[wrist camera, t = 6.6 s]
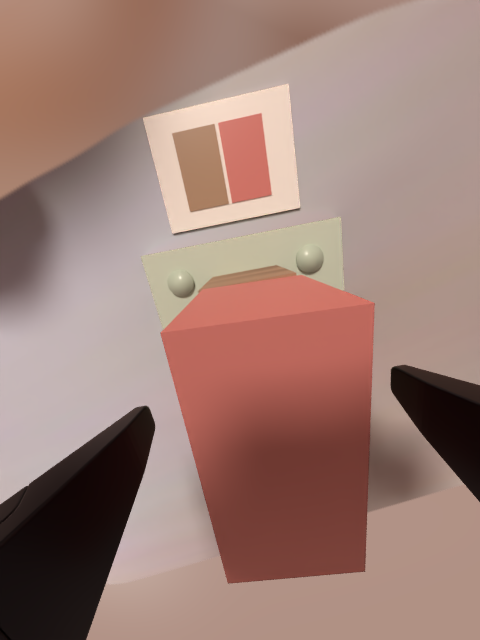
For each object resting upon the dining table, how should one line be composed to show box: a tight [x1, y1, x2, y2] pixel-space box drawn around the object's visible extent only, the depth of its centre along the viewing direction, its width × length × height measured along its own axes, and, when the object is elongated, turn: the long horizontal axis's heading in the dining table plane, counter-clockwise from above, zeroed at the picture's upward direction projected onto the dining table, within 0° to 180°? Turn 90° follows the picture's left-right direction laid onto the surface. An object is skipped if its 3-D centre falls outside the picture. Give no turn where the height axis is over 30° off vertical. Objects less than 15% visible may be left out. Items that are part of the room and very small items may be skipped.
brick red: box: [161, 275, 374, 583], centre depth 8 cm, size 8×4×5 cm, turn 8°
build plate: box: [141, 217, 344, 330], centre depth 15 cm, size 12×12×1 cm
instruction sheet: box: [143, 84, 300, 234], centre depth 13 cm, size 8×6×1 cm
